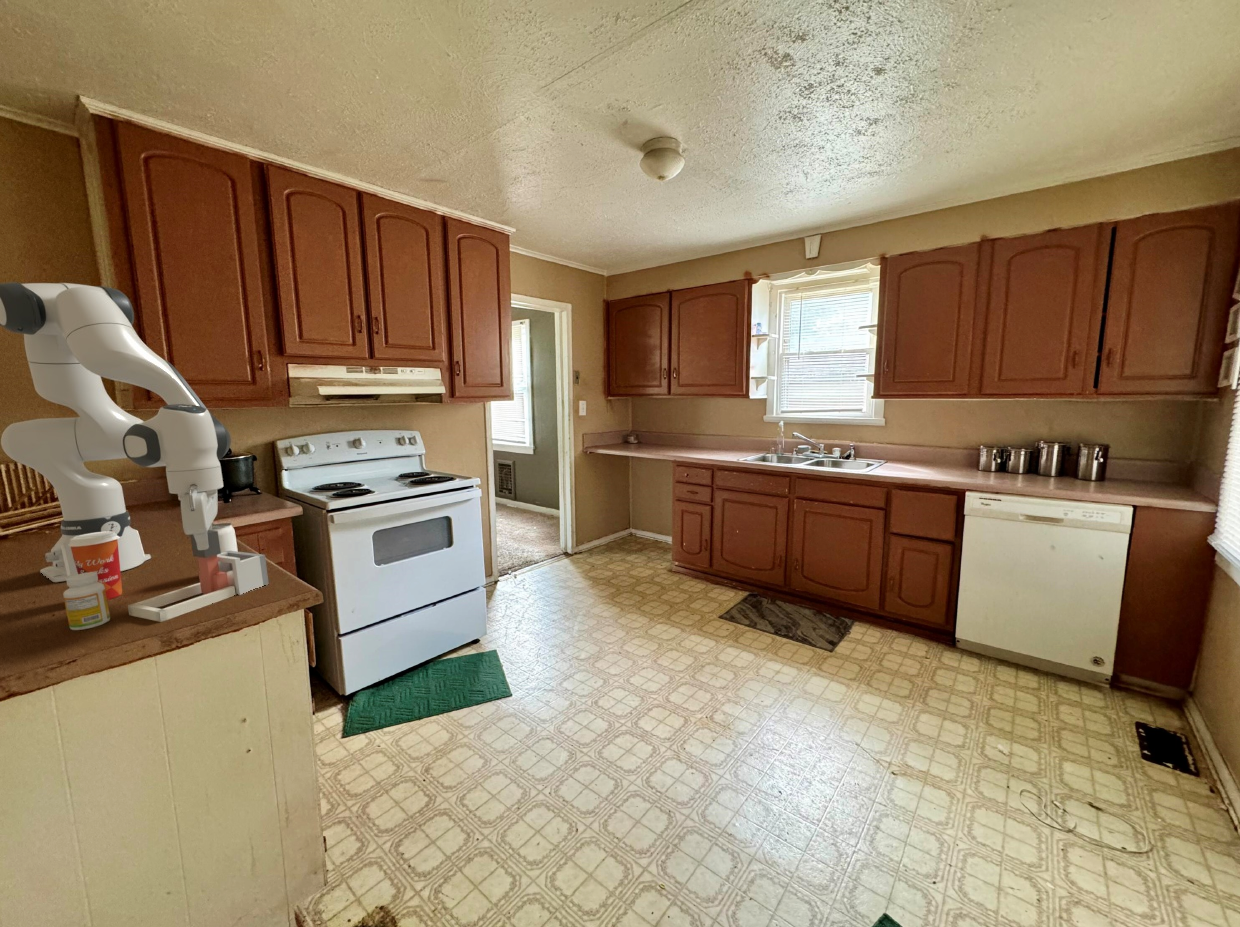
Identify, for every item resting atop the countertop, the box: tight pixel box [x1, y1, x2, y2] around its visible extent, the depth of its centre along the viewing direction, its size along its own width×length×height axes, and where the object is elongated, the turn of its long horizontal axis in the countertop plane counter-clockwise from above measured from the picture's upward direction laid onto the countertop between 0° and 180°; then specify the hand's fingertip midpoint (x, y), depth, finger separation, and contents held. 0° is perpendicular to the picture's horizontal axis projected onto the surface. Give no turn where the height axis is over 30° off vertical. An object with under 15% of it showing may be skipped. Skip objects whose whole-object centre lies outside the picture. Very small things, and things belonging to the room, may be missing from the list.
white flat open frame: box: [127, 582, 237, 623], centre depth 104 cm, size 10×13×2 cm
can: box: [212, 522, 239, 553], centre depth 122 cm, size 6×6×12 cm
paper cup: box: [68, 531, 123, 601], centre depth 109 cm, size 8×8×14 cm
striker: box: [189, 530, 229, 595], centre depth 108 cm, size 6×3×14 cm, turn 69°
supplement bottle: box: [62, 572, 111, 631], centre depth 95 cm, size 5×5×10 cm
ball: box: [227, 570, 235, 587], centre depth 113 cm, size 4×4×4 cm
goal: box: [217, 551, 270, 596], centre depth 113 cm, size 12×6×8 cm, turn 69°
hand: (205, 545), depth 107 cm, fingers closed on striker, 5 cm apart
